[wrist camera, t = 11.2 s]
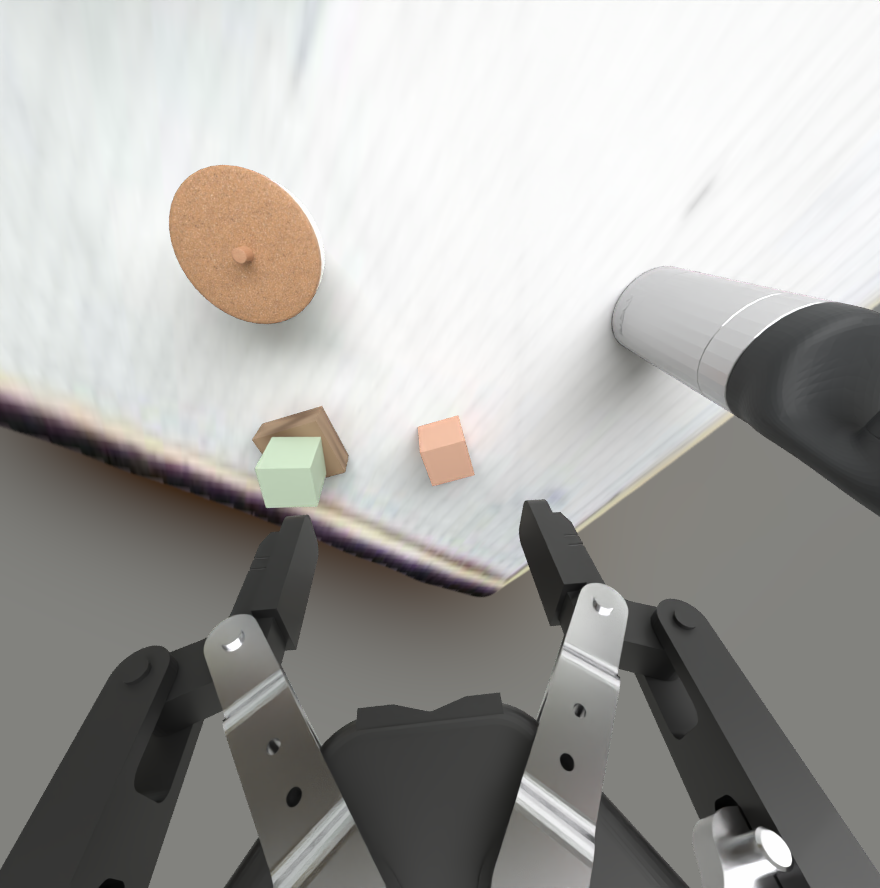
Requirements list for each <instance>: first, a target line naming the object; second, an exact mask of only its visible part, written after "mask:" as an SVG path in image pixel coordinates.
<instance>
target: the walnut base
mask: <svg viewBox="0 0 880 888" xmlns="http://www.w3.org/2000/svg"><path fill="white" fill-rule="evenodd" d="M272 437H321V441H322V448H323V454H324V461H325V467H326V477H325V478H327V477H330V476H334V475H337V474H341V473H344V472H345V471H346V466H347V461H348V456H349V455H348V454H347V452H346V450H345V448H344V446H343V444H342V442H341V441H340V439H339V437H338V435H337V433H336V431H335V429H334V428H333V426H332V424H331V422H330V420H329V418H328V416H327V415H326V413H325V411H324V409H323V407H322V406H320V407H317V408H314V409H310V410H307V411H304V412H300V413H297V414H294V415H290V416H287V417H284V418H280V419H277V420H274V421H270V422H267V423H264V424H262V425H261V427H260V428H259V430H258V431H257V433H256V434H255V436H254V438H253V439H252V441H253V442H254V443H255V445H256V446H257V448H258V449H259V450H260V452H261V453H262V454H263V453H264V451H265V449H266V447H267V445H268V444H269V442H270V440H271V438H272Z"/></svg>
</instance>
